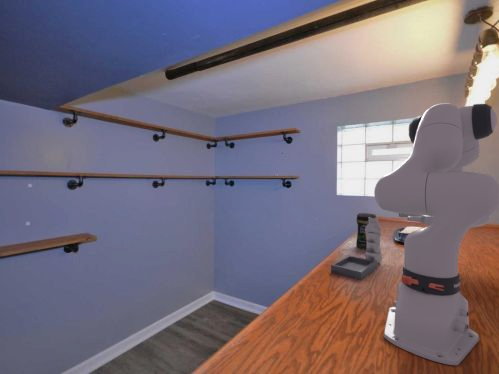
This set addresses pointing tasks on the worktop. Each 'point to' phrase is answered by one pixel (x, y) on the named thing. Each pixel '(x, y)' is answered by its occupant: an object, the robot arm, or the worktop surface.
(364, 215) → the coffee jar
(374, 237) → the plastic bottle
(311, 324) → the worktop surface
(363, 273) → the serving tray
